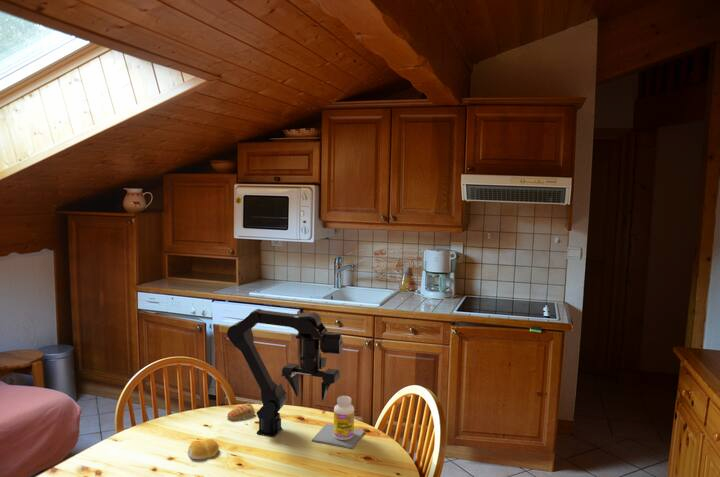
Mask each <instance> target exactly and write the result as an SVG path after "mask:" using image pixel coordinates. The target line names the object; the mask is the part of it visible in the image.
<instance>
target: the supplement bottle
mask: <svg viewBox="0 0 720 477" xmlns="http://www.w3.org/2000/svg"><path fill="white" fill-rule="evenodd" d="M336 403H337V404H336V405H334V408H333V425H334V437H335V438H336V439H339V440H349V439H351V438H352V437H353V435H354V429H355V428H354V427H355V407H354V405H353V404H352V397H350V396H348V395H340V396H338V397H337V398H336Z"/></svg>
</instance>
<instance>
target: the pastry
mask: <svg viewBox="0 0 720 477" xmlns="http://www.w3.org/2000/svg"><path fill="white" fill-rule="evenodd" d="M255 414H256V412H255V409H254V407H253V405H252V404H251V403H245V404H241V405H238V406H236V407H235V408H234V409H231V410H230V411H229V412H228V413H227V417H226V418H227V419H228V420H230V421H239V419H240V420H244V418H245V419H248V418H251V417H254V416H255Z"/></svg>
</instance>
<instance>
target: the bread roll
mask: <svg viewBox="0 0 720 477" xmlns="http://www.w3.org/2000/svg"><path fill="white" fill-rule="evenodd" d="M218 452H219V444H218V442H217V441H216V440H214V439H212V438H211V439H210V438H209V439H202V440H201V441H193V442H191V443H190V445H189V446H188V448H187V455H188V457H189V458H190V459H192V460H204V459H207V458H212V457H215V456H216V455H217V453H218Z"/></svg>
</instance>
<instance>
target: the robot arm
mask: <svg viewBox="0 0 720 477" xmlns="http://www.w3.org/2000/svg"><path fill="white" fill-rule="evenodd" d="M257 324H263V325H264V324H265V325H271V326H277V327H286V328H288V327H289V328H292V329H293V330H295V331H298V332H299V333H298V334H297V335H296V336H295V339H298V340H301V356H299V360H300V361H301V367H300V364H299V363H292V362H289V363H287V364H285V366H283V367H282V368H281V372H280V374H281V377H284V379H285V380H287V382H288V383H289V384H290V386H291V388H292V390H293V392H294V395H295V396H296V397H299V396H300V375H304V376H311V377H316V378H321V380H322V382H321V384H320V385H321V388H320V390H321V401H325V399H326V397H327V394H328V391H329V388H330V386H331V385H332V384H335V383H336V382H337V381H338V380H339V379H340V378H341V372H340V371H339V369H335V368H327V369H326V370H325V371H323V370H322V369H323V368H326V367H327V366H326V365H327V359H328V358H327V357H322V353H323V354H329V355H339V356H340V355H341V356H342V354H343V349H344V341H343V337H342V333H341V332H328V329H327V327H326V326H325V325H324V323H323V322H322V318H321V316H320V314H319V313H317V312H315V311H311V312H307V311H306V312H300V313H289V312H281V311H275V310H274V311H271V310H266V309H260V308H257V309H255V310H252V311H251V312H250V313H249V314H248V315H247V316H246V317H245V318H244V319H243V320H240V321H237V322H236V323H234V324H232V325H231V326H230V327H229V328H228V329H227V330H226V336H227V340H229V341H230V343H231V345H232V346H233V347H235V348H236V349H237V350H239V351H240V353H241V354H242V357H243V359H244V360H245V363H246V364H247V366H248V368H249V370H250V372H251V374H252V376H253V377H254V380H255V382H256V383H257V385H258V388H259V389H260V399H261V402H262V406H261V407H260V408H259V409H258V410H257V412H256V416H257V418H258V430H257V431H256V434H257V435H261V436H267V437H272V438H273V437H274V438H275V436H277V435H278V433H280V432H281V431H282V430H283V427H282V418H281V413H280V412H279V411H280V410H281V409H282V408H283V407H284V405H285V404H286V402H287V392H286V390H284V386H283V384H282V383H281V382H280V383H279V384H277V383H275V381H273V379H272V377H271V375H270V373H269V371H268V369H267V367H266V365H265V363H264V361H263V360H262V358H261V355H260V353H259V351H258V349H257V347H256V346H255V343H254V333H253V330H252V329H253V328H254V327H255V326H256V325H257ZM321 352H322V353H321Z"/></svg>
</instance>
